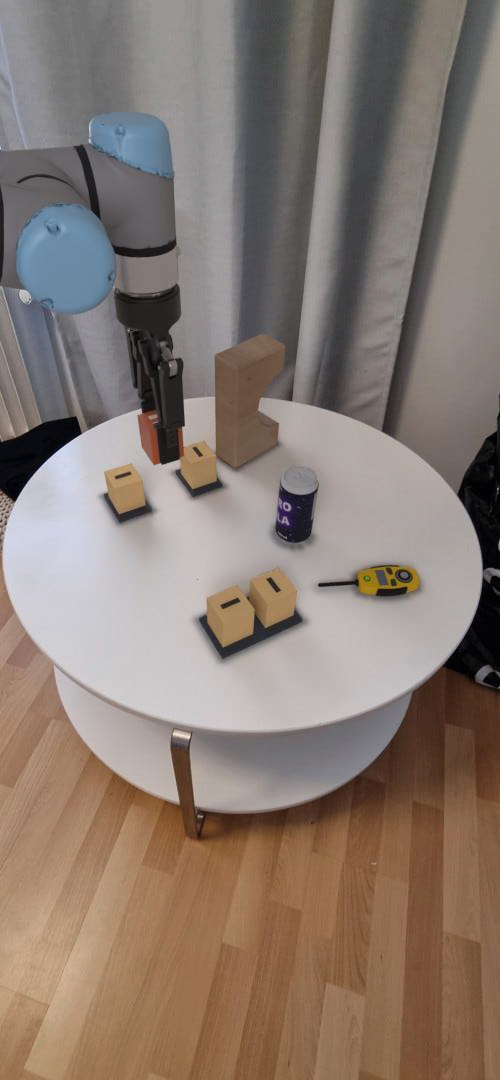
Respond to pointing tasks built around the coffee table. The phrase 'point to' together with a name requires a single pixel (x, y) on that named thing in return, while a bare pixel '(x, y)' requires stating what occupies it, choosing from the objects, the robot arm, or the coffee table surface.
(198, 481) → the tan cubes
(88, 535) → the coffee table surface
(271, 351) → the decorative block
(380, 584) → the yellow walkie talkie
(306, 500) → the beverage can
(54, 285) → the robot arm
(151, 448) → the pause symbol cube
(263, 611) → the tan boxes on tray
